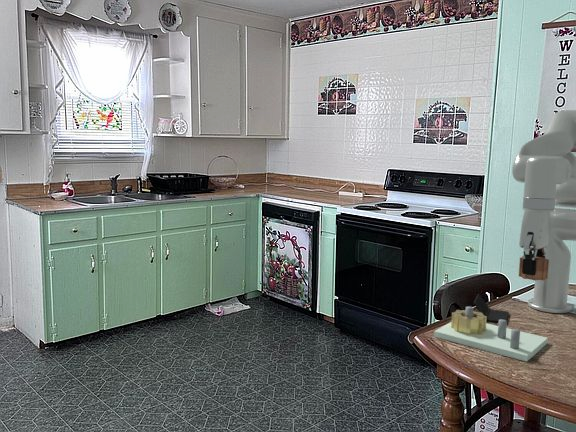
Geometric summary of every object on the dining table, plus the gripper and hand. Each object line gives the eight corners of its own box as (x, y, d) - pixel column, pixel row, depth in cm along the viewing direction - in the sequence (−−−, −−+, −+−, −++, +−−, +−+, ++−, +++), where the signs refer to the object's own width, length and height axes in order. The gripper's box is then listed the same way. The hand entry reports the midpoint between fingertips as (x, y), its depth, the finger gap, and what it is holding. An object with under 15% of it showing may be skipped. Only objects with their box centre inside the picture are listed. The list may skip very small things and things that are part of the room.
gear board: (459, 321, 156) (461, 296, 155) (547, 343, 141) (549, 315, 140) (433, 336, 145) (435, 309, 144) (526, 361, 129) (529, 331, 128)
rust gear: (523, 272, 147) (525, 254, 146) (550, 277, 143) (551, 258, 142) (515, 277, 142) (516, 258, 141) (542, 281, 138) (544, 262, 137)
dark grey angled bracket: (514, 320, 154) (492, 290, 156) (492, 333, 156) (471, 304, 157) (510, 313, 165) (490, 286, 167) (489, 326, 167) (469, 298, 168)
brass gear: (459, 321, 152) (460, 307, 152) (490, 328, 147) (491, 314, 146) (446, 329, 146) (447, 314, 145) (477, 337, 140) (478, 322, 140)
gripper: (533, 201, 149) (528, 264, 151) (512, 205, 136) (507, 275, 138) (563, 203, 144) (557, 269, 146) (544, 208, 131) (538, 280, 133)
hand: (533, 271), depth 142 cm, fingers closed on rust gear, 6 cm apart
